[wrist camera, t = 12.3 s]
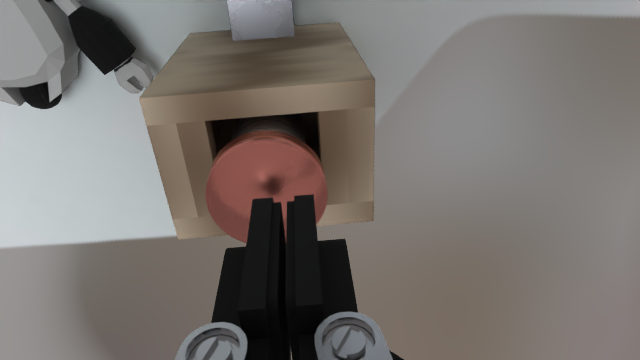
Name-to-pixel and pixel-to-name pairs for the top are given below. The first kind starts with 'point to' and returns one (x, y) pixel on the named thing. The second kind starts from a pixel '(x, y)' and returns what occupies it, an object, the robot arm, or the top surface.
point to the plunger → (263, 171)
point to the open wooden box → (263, 100)
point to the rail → (260, 19)
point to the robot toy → (59, 50)
